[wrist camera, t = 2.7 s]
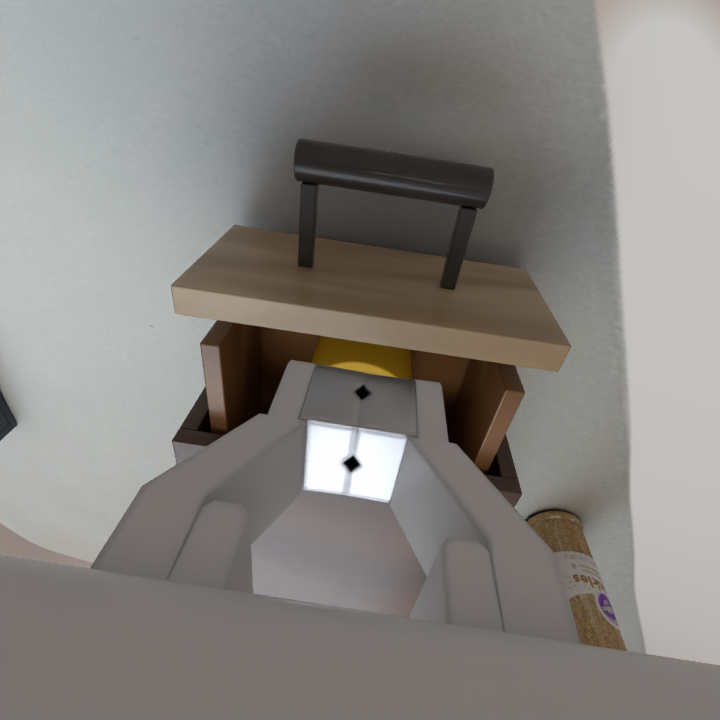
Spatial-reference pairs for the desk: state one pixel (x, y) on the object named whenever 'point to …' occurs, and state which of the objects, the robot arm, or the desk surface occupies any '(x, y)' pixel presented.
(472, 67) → the desk surface
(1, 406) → the tray
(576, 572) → the sprinkles bottle
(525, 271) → the drawer
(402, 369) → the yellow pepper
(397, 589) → the cabinet
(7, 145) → the desk surface
